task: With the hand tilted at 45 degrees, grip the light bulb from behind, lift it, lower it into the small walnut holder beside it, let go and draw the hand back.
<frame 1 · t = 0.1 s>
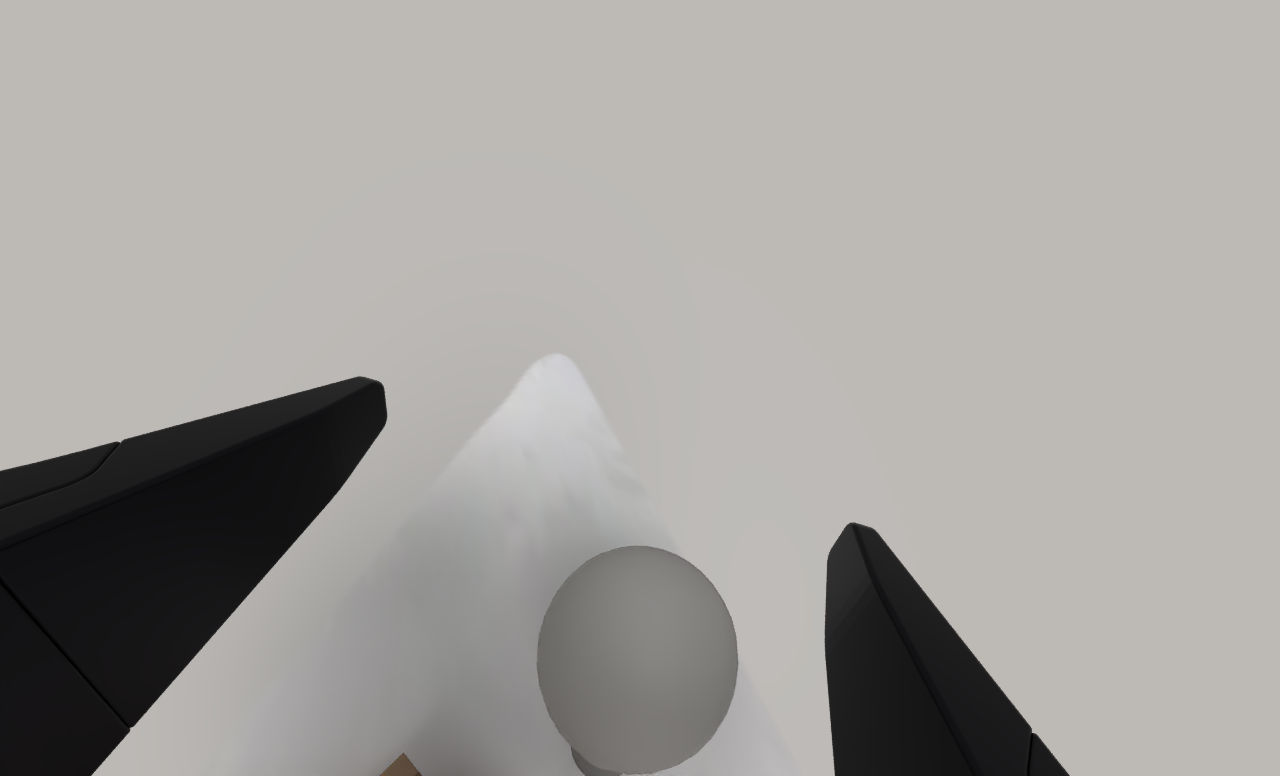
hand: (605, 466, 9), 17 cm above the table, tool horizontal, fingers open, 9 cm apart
lightbulb: (599, 752, 20), on the table
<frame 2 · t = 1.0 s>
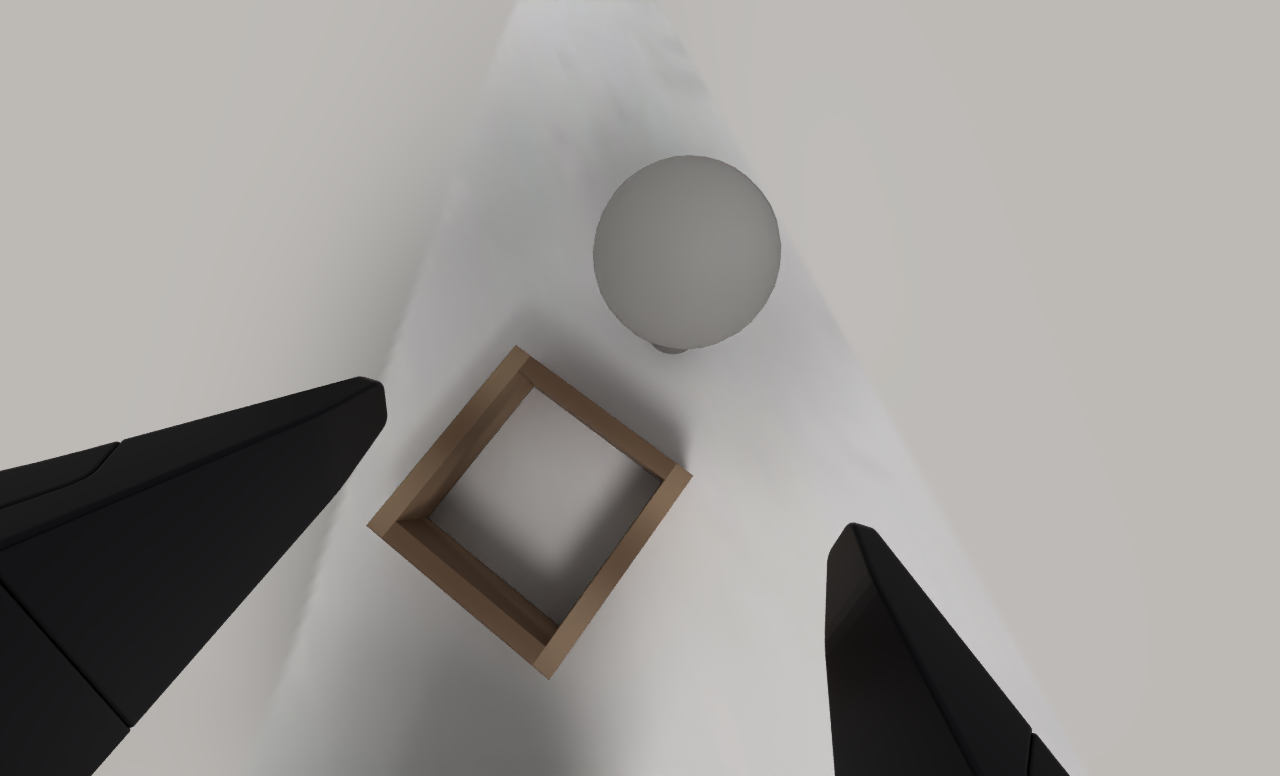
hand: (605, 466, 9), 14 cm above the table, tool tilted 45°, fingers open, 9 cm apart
lightbulb: (671, 335, 24), on the table
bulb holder: (545, 500, 22), on the table
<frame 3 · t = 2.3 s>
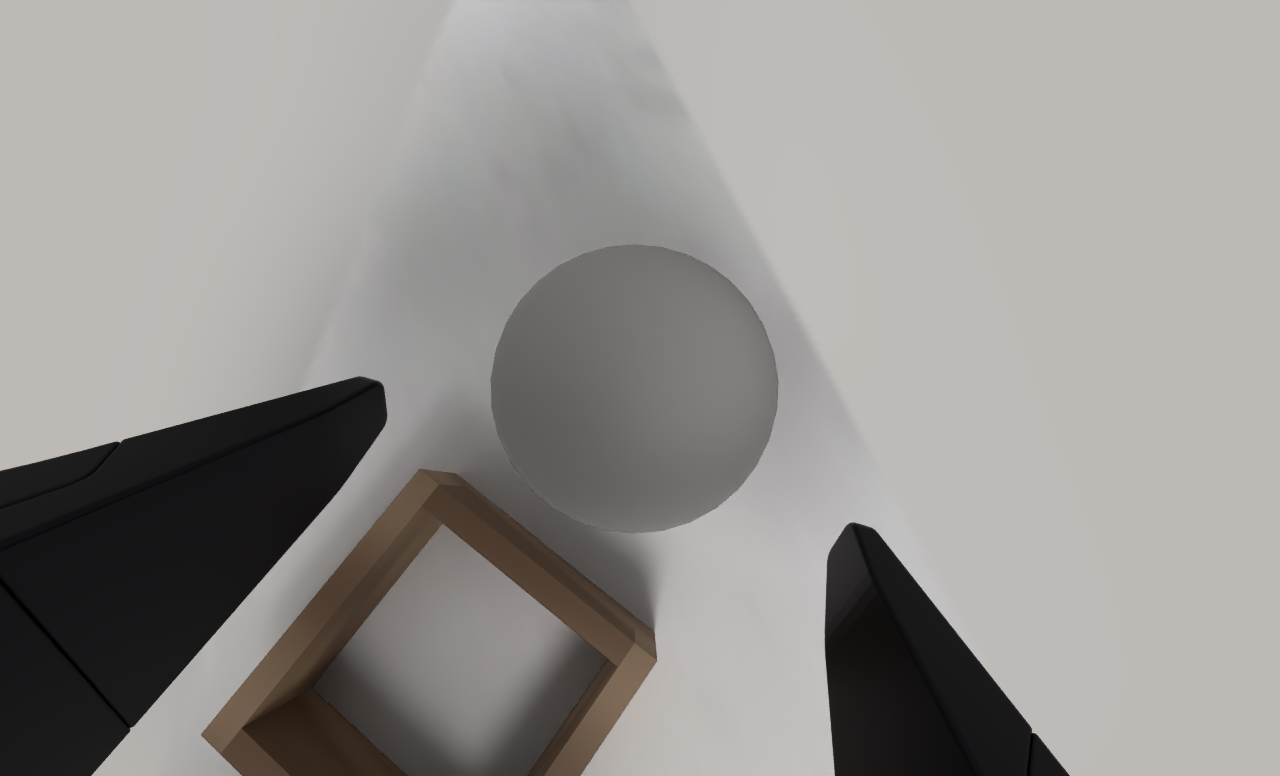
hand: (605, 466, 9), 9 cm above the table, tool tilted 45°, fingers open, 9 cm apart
lightbulb: (638, 434, 19), on the table
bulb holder: (468, 662, 17), on the table
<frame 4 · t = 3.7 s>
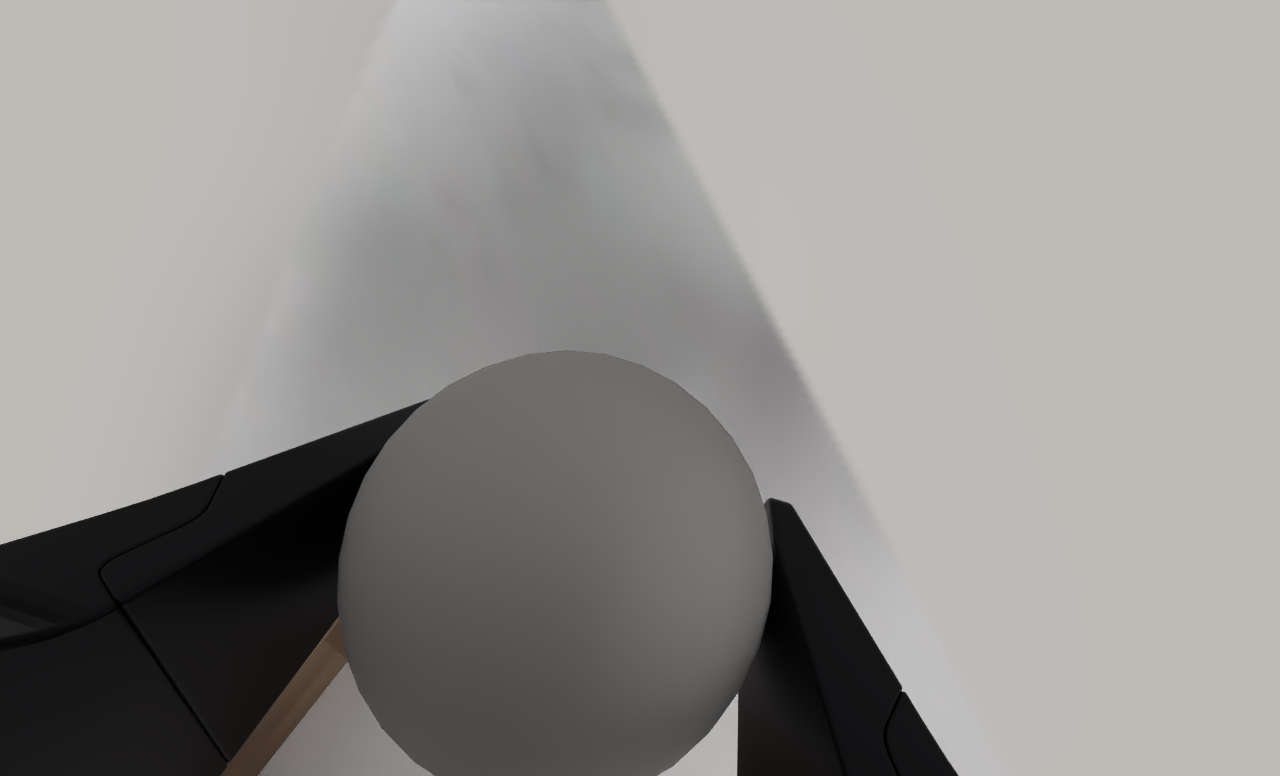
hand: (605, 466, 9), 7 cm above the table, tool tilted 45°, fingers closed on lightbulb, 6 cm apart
lightbulb: (608, 520, 16), on the table, touching gripper
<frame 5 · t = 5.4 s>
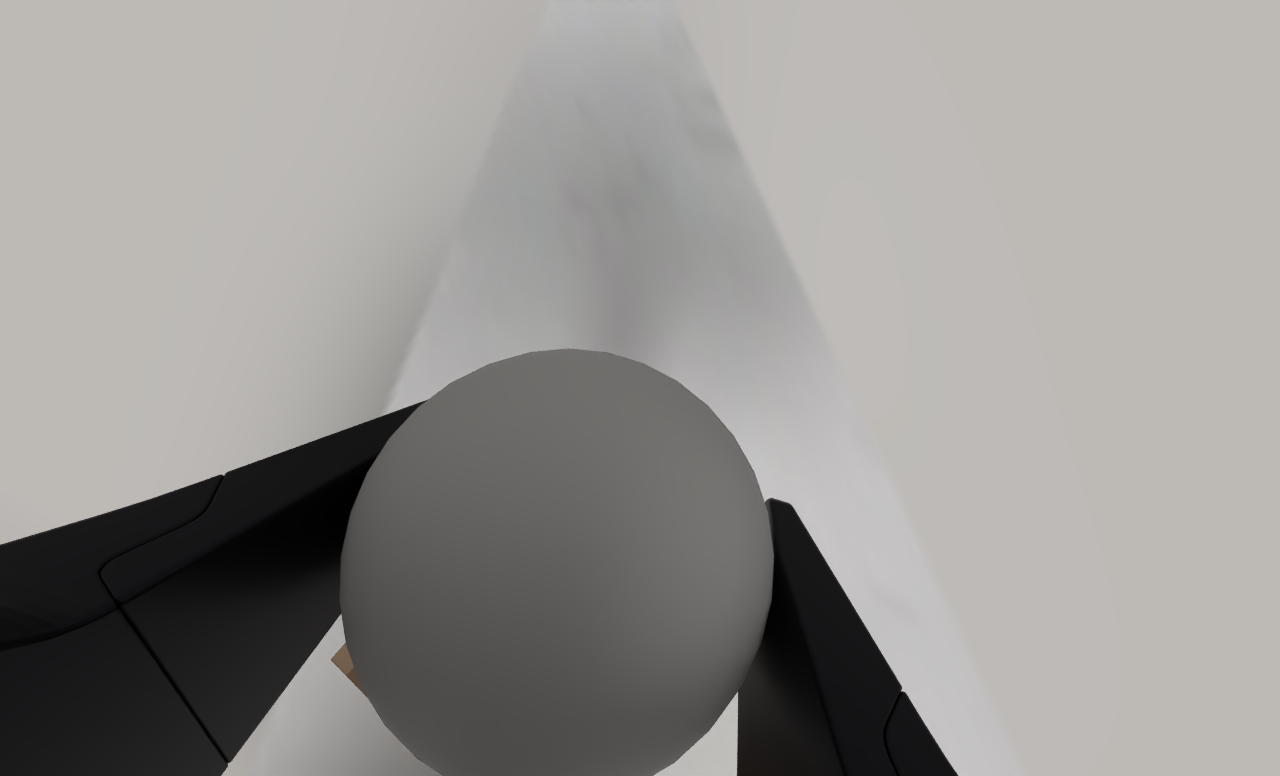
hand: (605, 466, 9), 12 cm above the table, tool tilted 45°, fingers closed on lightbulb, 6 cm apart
lightbulb: (609, 518, 16), point 6 cm above the table, touching gripper
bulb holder: (533, 619, 20), on the table
when the fingers open (8 cm above the table, at t = 7.4 s): lightbulb drops 1 cm, resting in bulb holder.
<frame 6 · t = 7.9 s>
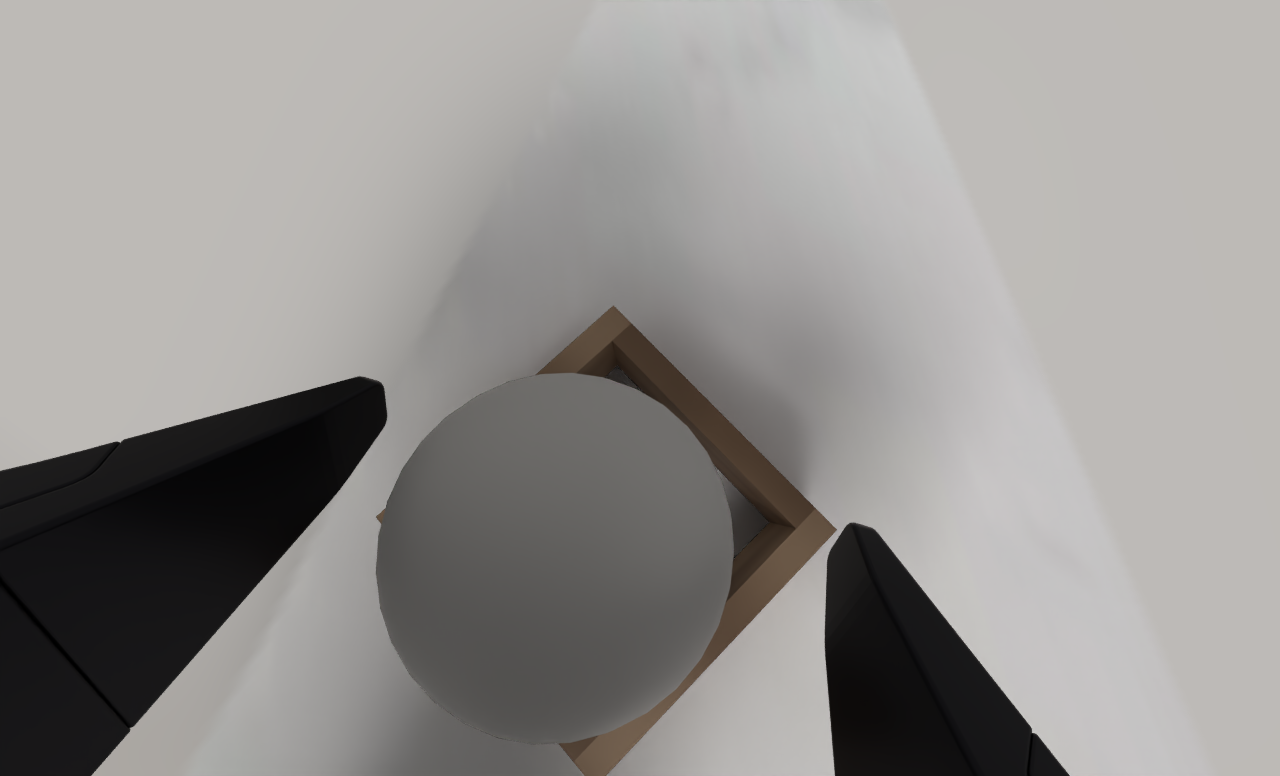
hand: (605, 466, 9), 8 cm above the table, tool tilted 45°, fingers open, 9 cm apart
lightbulb: (603, 518, 17), resting in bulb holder
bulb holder: (611, 517, 17), on the table
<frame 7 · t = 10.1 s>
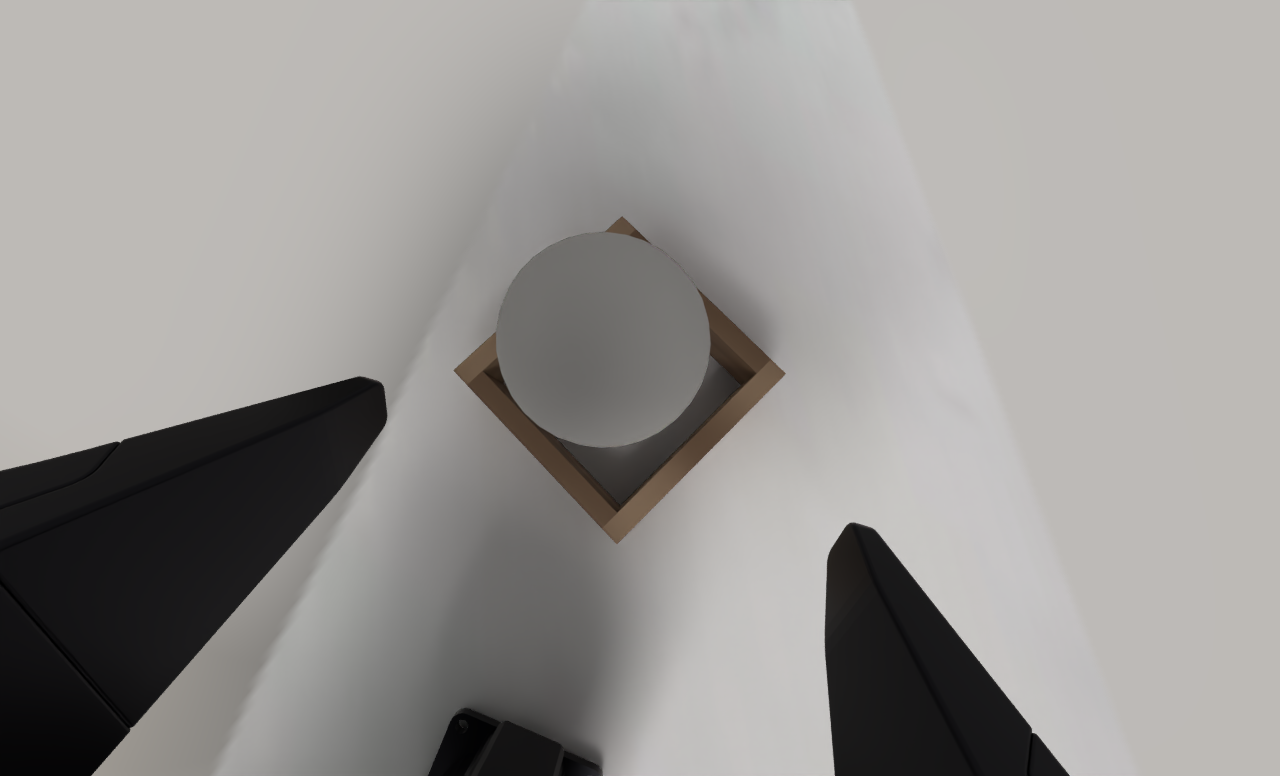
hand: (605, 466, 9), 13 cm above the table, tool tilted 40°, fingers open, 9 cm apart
lightbulb: (615, 385, 22), resting in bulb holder
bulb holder: (622, 383, 22), on the table
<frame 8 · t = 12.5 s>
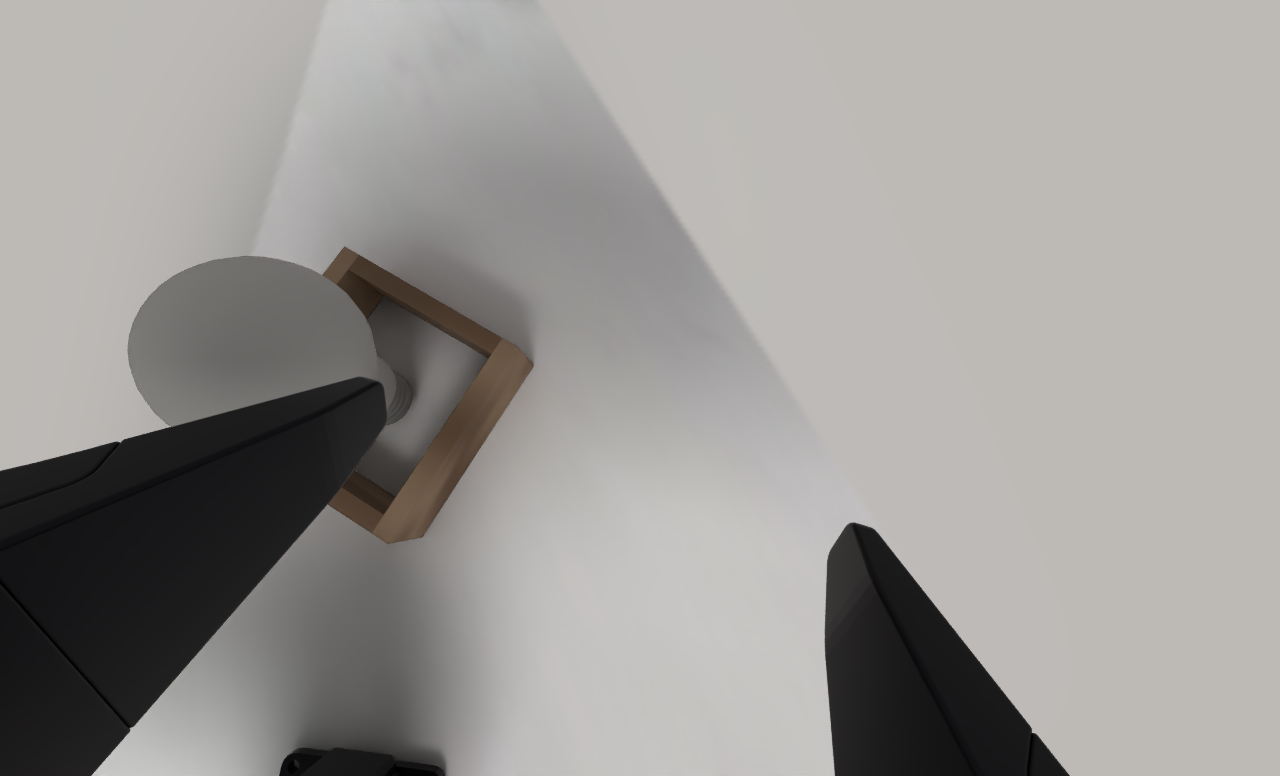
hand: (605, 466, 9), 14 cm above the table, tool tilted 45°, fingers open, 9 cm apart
lightbulb: (395, 402, 24), resting in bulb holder
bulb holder: (400, 399, 23), on the table
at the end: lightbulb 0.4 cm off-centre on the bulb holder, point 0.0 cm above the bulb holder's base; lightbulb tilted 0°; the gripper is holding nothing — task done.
